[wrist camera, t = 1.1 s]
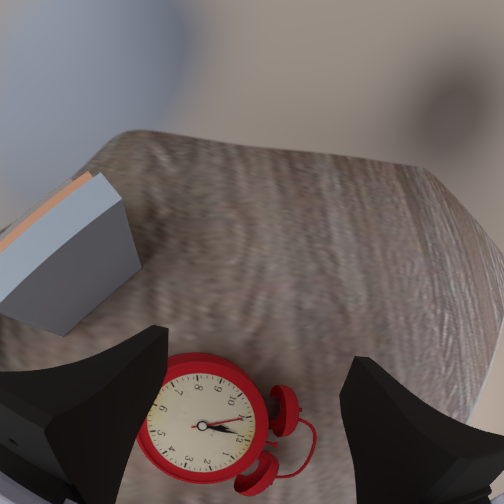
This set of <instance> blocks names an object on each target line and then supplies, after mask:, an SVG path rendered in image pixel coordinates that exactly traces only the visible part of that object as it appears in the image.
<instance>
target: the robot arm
mask: <svg viewBox="0 0 504 504" xmlns="http://www.w3.org/2000/svg"><path fill="white" fill-rule="evenodd" d="M168 330H169V328H165V327H161V326H156V325H152V326H150V327H148V328H147V329H145V330H143V331H141V332H140V333H138V334H136V335H134V336H133V337H131V338H129V339H127V340H125V341H124V342H122V343H120V344H118V345H116V346H114V347H112V348H110V349H107V350H105V351H103V352H101V353H99V354H97V355H94V356H92V357H89V358H86V359H83V360H80V361H77V362H74V363H70V364H66V365H62V366H58V367H53V368H48V369H41V370H33V371H20V372H0V504H115V502H116V498H117V495H118V491H119V487H120V484H121V480H122V477H123V474H124V471H125V468H126V465H127V462H128V458H129V456H130V453H131V450H132V447H133V445H134V442H135V439H136V437H137V435H138V433H139V430H140V428H141V427H142V425H143V423H144V421H145V419H146V417H147V415H148V413H149V411H150V409H151V408H152V406H153V404H154V402H155V400H156V398H157V396H158V394H159V392H160V390H161V387H162V385H163V382H164V379H165V376H166V373H167V370H168ZM339 397H340V407H341V416H342V420H343V424H344V428H345V432H346V436H347V440H348V443H349V447H350V451H351V455H352V459H353V465H354V471H355V481H356V497H357V504H504V493H502V494H500V495H499V496H497V497H495V498H494V499H492V500H491V501H490V500H489V498H488V495H490V494H491V492H492V490H491V488H490V486H489V485H490V484H491V483H492V482H493V481H494V480H495V479H496V478H497V477H498V476H499V475H500V474H501V472H502V471H503V470H504V436H502V435H498V434H494V433H490V432H485V431H482V430H479V429H476V428H473V427H470V426H468V425H466V424H463V423H461V422H458V421H456V420H454V419H452V418H450V417H448V416H446V415H444V414H443V413H441V412H439V411H437V410H436V409H434V408H433V407H431V406H429V405H428V404H426V403H425V402H423V401H422V400H420V399H419V398H418V397H416V396H415V395H414V394H413V393H411V392H410V391H409V390H407V389H406V388H405V387H404V386H403V385H401V384H400V383H399V382H398V381H397V380H395V379H394V378H393V377H392V376H391V375H390V374H389V373H387V372H386V371H385V370H384V369H383V368H382V367H381V366H379V365H378V364H377V363H376V362H375V361H373V360H372V359H371V358H369V357H359V356H355V357H354V360H353V362H352V365H351V368H350V370H349V373H348V375H347V378H346V380H345V383H344V385H343V387H342V390H341V392H340V395H339Z"/></svg>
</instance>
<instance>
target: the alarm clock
mask: <svg viewBox="0 0 504 504" xmlns="http://www.w3.org/2000/svg"><path fill="white" fill-rule="evenodd" d="M270 397H276V398H278V400H279V402H280V406H281V410H280V414H279V416H278V417H277V418H276V419H273V420H269V421H270V426H271V428H268V414H267V409H266V405H265V403H264V400H263V398H262V396H261V394H260V393H259V391H258V389H257V387H256V386H255V384H254V382H253V381H252V380H251V378H250V377H249V376H248V375H247V374H246V373H245V372H244V371H243V370H242V369H240V368H239V367H238V366H236V365H235V364H233V363H231V362H230V361H228V360H226V359H223V358H221V357H218V356H215V355H211V354H205V353H185V354H180V355H176V356H172V357H170V358H168V370H167V373H166V376H165V379H164V382H163V385H162V387H161V390H160V392H159V394H158V396H157V398H156V400H155V402H154V404H153V406H152V408H151V409H150V411H149V413H148V415H147V417H146V419H145V421H144V423H143V425H142V427H141V428H140V430H139V433H138V435H137V437H136V439H137V441H138V444H139V446H140V448H141V450H142V451H143V453H144V454H145V455H146V457H147V458H148V459H149V460H150V461H151V462H152V463H153V464H154V465H155V466H156V467H157V468H159V469H160V470H161V471H163V472H164V473H166V474H168V475H169V476H171V477H173V478H176V479H179V480H181V481H185V482H189V483H196V484H211V483H218V482H222V481H225V480H228V479H231V478H233V477H235V476H237V477H236V479H235V482H234V489H235V491H236V492H238V493H240V494H242V495H244V496H255V495H257V494H259V493H261V492H262V491H264V490H265V489H266V488H268V487H269V485H272V484H273V483H272V482H273V481H274V479H275V478H279V479H282V478H290V477H293V476H295V475H297V474H299V473H300V472H301V471H302V470H303V469H304V468H305V467H306V465H307V464H308V462H309V461H310V459H311V457H312V454H313V452H314V448H315V445H316V438H317V436H316V431H315V428H314V427H313V426H312V424H310V423H309V422H307V421H306V420H303V419H301V418H299V412H301V411H302V408H299V405H298V400H297V397H296V395H295V393H294V392H293V390H292V389H291V388H289V387H287V386H283V385H276V386H274V387H273V388H272V390H271V393H270ZM298 421H300V422H302V423H305V424H306V425H308V426H309V427H310V428H311V429H312V432H313V444H312V448H311V451H310V454H309V456H308V458H307V460H306V462H305V463H304V465H303V466H302V467H301V468H300V469H299V470H298V471H296V472H295V473H293V474H290V475H284V476H276V475H277V474H278V470H279V463H278V460H277V459H276V457H275V456H274V455H272V454H271V453H270V452H262V453H261V451H262V450H263V448H264V445H265V443H266V444H269V445H273V446H272V447H274V448H276V447H277V445H278V442H274V443H272V442H268V441H266V439H267V436H268V429H272V431H273V433H274V435H276V436H277V437H284V436H288V435H290V434H291V433H292V432H293V431H294V430H295V428H296V426H297V424H298ZM256 459H258V460H259V466H258V468H257V469H256V471H254V472H253V473H252V474H250V475H248V476H244V475H241V474H240V473H242V472H243V471H245V470H246V469H247V468H248V467H250V466H251V465H252V464H253V463H254V462H255V460H256Z"/></svg>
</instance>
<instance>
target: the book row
mask: <svg viewBox="0 0 504 504" xmlns="http://www.w3.org/2000/svg"><path fill="white" fill-rule="evenodd" d="M141 268H142V267H141V263H140V260H139V257H138V254H137V250H136V247H135V244H134V240H133V237H132V233H131V230H130V226H129V223H128V219H127V215H126V212H125V208H124V204H123V200H122V198H121V197H120V195H119V194H118V193H117V192H116V191H115V189H114V188H113V187H112V186H111V185H110V183H109V182H108V181H107V180H106V178H105V177H104V176H103V175H102V174H101V173H99V174H98V175H96V176H95V177H92V176H91V174H90V173H89V172H88V171H87V172H86V173H85V174H83V175H82V176H80V177H79V178H78V179H76V180H75V181H72V179H71V178H69V179H67V180H66V181H65V182H63V183H62V184H61V185H59V186H58V187H57V188H55V189H54V190H53V191H51V192H50V193H49V194H48V195H46V196H45V197H44V198H43V199H41V200H40V201H39V202H38V203H36V204H35V205H34V206H33V207H31V208H30V209H29V210H28V211H27V212H26V213H24V214H23V215H22V216H21V217H20V218H19V219H17V220H16V221H15V222H14V223H13V224H12V225H11V226H10V227H8V228H7V229H6V230H5V231H4V232H3V233H2V234H1V235H0V314H3V315H5V316H8V317H10V318H13V319H15V320H18V321H20V322H23V323H26V324H28V325H31V326H34V327H37V328H39V329H42V330H45V331H48V332H51V333H54V334H57V335H60V336H63V337H64V336H65V335H66V334H67V333H68V332H69V331H70V330H71V329H73V328H74V327H75V326H76V325H77V324H78V323H79V322H80V321H81V320H82V319H84V318H85V317H86V316H87V315H88V314H89V313H90V312H91V311H93V310H94V309H95V308H96V307H97V306H98V305H99V304H100V303H102V302H103V301H104V300H105V299H106V298H107V297H108V296H110V295H111V294H112V293H113V292H114V291H115V290H117V289H118V288H119V287H120V286H121V285H122V284H124V283H125V282H126V281H127V280H128V279H129V278H131V277H132V276H133V275H134V274H135V273H137V272H138V271H139V270H140V269H141Z"/></svg>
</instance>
